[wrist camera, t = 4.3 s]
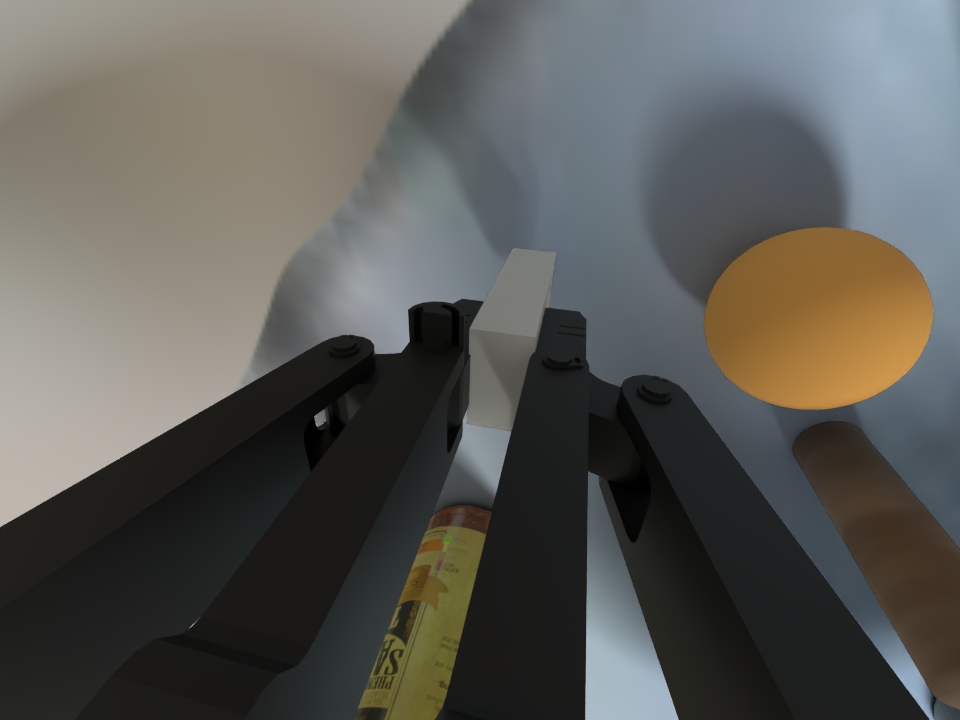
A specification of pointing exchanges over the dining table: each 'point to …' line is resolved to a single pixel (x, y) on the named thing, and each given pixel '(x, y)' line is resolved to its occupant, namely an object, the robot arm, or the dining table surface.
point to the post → (891, 547)
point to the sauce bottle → (428, 620)
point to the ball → (818, 318)
